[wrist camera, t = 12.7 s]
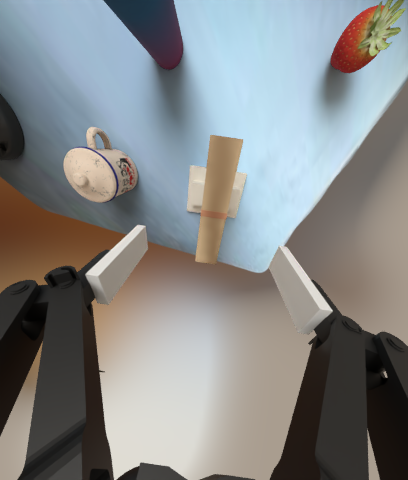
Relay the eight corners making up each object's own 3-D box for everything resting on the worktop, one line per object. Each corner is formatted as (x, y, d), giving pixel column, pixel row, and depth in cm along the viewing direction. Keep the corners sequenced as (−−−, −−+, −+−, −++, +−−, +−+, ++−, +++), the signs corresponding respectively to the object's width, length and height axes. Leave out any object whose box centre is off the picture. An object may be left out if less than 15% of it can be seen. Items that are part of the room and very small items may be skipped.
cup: (196, 32, 22) (167, -135, 9) (177, 87, 25) (135, 22, 12) (154, -6, 20) (48, -270, 8) (139, 58, 24) (48, -51, 11)
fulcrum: (187, 209, 36) (181, 220, 30) (190, 165, 31) (184, 168, 25) (235, 216, 36) (238, 229, 30) (246, 173, 31) (253, 178, 25)
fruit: (347, 82, 23) (401, 54, 16) (311, 86, 24) (349, 61, 17) (363, 31, 20) (436, -28, 14) (323, 37, 21) (373, -17, 14)
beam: (198, 244, 33) (194, 261, 28) (211, 138, 23) (210, 134, 17) (216, 247, 33) (215, 264, 28) (237, 142, 23) (243, 139, 17)
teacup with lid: (141, 195, 35) (111, 212, 26) (104, 188, 35) (59, 202, 25) (136, 135, 29) (95, 127, 19) (91, 126, 29) (26, 114, 19)
